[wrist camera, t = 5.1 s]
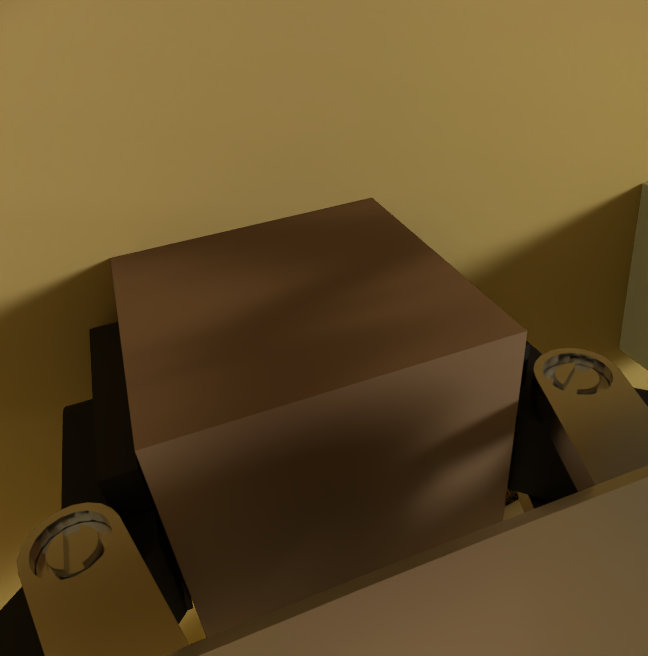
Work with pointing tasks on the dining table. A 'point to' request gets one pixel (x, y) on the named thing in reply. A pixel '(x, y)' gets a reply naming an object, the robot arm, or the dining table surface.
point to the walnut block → (313, 403)
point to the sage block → (638, 291)
